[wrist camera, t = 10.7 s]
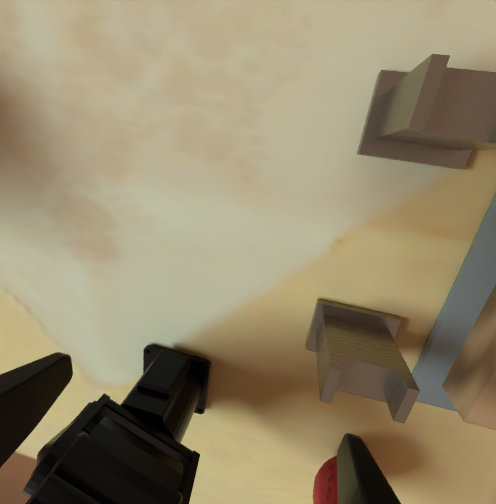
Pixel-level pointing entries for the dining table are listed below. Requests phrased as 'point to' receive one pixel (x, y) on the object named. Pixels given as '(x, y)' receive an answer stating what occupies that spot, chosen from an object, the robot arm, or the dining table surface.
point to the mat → (458, 315)
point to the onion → (326, 483)
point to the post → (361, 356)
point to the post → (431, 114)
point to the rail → (476, 371)
